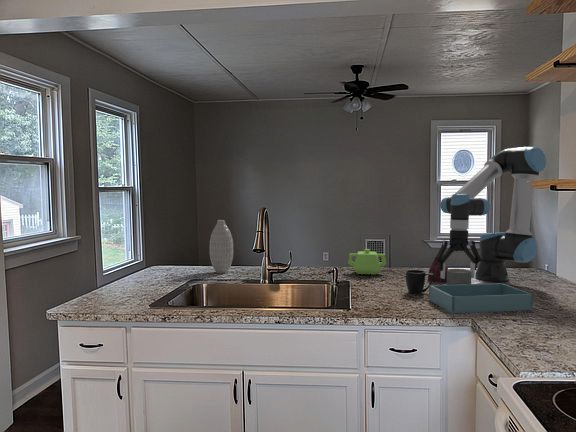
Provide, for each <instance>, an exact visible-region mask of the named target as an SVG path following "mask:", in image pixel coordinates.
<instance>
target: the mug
mask: <svg viewBox="0 0 576 432" xmlns="http://www.w3.org/2000/svg"><path fill="white" fill-rule="evenodd" d="M428 275H432V276H433V278H432V281H429V282H430V283H429V284H428V285H427V287H426V288H424V287H425V282H426V276H428ZM433 281H434V274H428V273H426V271H424V270H421V269H407V270H406V271H405V283H406V287H407V291H408V294H411V295H421V294H423V293H425V292H426V291H428V290H429V286H432V283H434V282H433Z"/></svg>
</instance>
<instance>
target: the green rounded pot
mask: <svg viewBox="0 0 576 432" xmlns="http://www.w3.org/2000/svg"><path fill="white" fill-rule="evenodd" d="M363 250H364V251H361V250H360V251H357V253H349V254H348V261H347V264H349V265H350V266H351V267H353V268H354V271H355V273H356V274H357V275H359V274H361V275H360V276H364V275H370V274H371V275H370V276H376V275H378V274H379V273H380V269H382V267H384V266H386V265H387V258H386V253H377V252H376V251H371V249H370V248H364V249H363ZM353 257H355V260H354V261H353ZM380 257H381V262H380V259H379V258H380ZM363 274H364V275H363Z"/></svg>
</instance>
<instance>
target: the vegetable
mask: <svg viewBox="0 0 576 432" xmlns="http://www.w3.org/2000/svg"><path fill="white" fill-rule="evenodd" d="M436 256H437V254H436V255H435V256H434V259H433V260H432V262H431V265H430V267H429V268H428V269H429V270H428V273H427V274H434V281H433V282H432V283H438V284H439V283H441V284H443V283H446V284H447V270H448V269H449V268H448V266H447V264H446V263H445V262H444V264H445V279H443V278H440V275H441V271H440V270H439V262H436V261H435V258H436ZM432 278H433V276H432V275H427V281H429V282H431V281H432Z"/></svg>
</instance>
